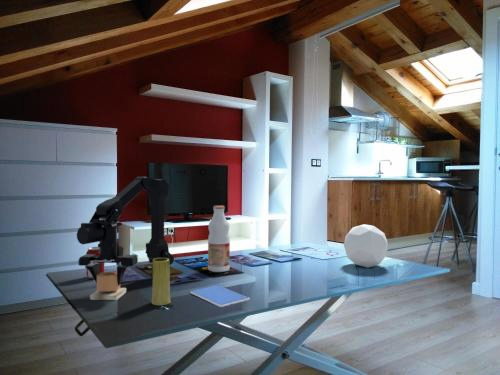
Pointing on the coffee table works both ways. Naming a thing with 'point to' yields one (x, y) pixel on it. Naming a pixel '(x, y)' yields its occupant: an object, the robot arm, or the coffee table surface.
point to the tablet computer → (219, 296)
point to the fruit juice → (218, 242)
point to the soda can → (96, 251)
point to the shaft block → (107, 294)
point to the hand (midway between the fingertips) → (108, 284)
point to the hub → (107, 281)
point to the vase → (161, 282)
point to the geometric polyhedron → (366, 245)
